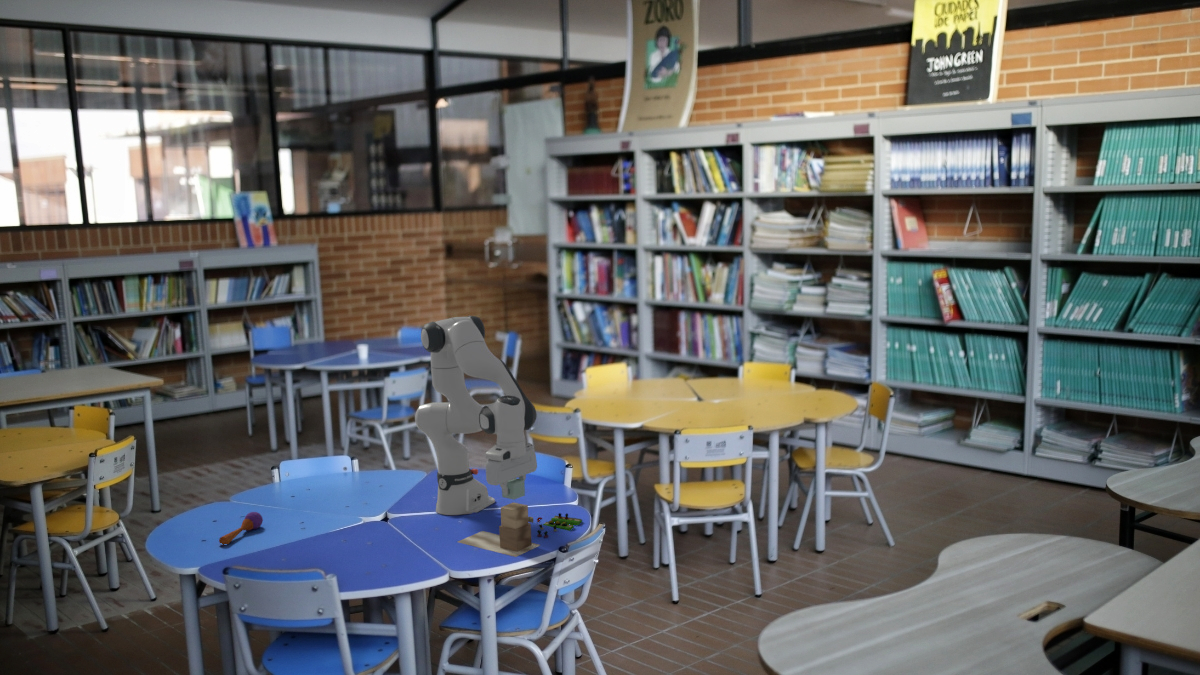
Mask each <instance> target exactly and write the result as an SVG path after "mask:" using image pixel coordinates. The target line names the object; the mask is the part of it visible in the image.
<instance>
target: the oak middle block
mask: <svg viewBox="0 0 1200 675" xmlns="http://www.w3.org/2000/svg"><path fill="white" fill-rule="evenodd" d="M528 517H529V505H528V504H523V503H519V502H511V503H508V504H505V505H503V506H501V507H500V520H501V521H500V522H501V523H500V524H501V525H500V526H504V527H508V528H512V529H518V528H520V527H522V526H525V525H527V524H529V523H530V522H528Z"/></svg>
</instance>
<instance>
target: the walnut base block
mask: <svg viewBox="0 0 1200 675" xmlns="http://www.w3.org/2000/svg"><path fill="white" fill-rule="evenodd" d="M528 523H529V524H527V525H525V526H522V527H520V528H518V529H512V528H508V527H504V526H501V525H499V526H498V529H499V530H498V532H499V535H500V548H504V549H508V550H512V551H516V552H518V551H520V550H522V549H524V548H526V547H528V546H531V545H532V543H533V542H532V526H531V525H532V524H531V522H528Z"/></svg>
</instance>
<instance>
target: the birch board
mask: <svg viewBox="0 0 1200 675" xmlns="http://www.w3.org/2000/svg"><path fill="white" fill-rule="evenodd" d="M457 543H459V544H463V545H466V546H472V547H475V548H479V549H482V550H486V551H490V552H494V553H498V554H502V555H506V556H510V557H514V558H517V557H518V556H522V555H523V554H525V553H527V552H529V551H532V550H534V549H535V548H538V547H541V544H538V543H534V542H532V545H531V546H528V547H526V548H524V549H522V550H520V551H518V552H516V551H512V550H508V549H504V548H500V534H497V533H492V532H489V531H485V530H484V531H483V530H481V531H479V532H477V533H474V534H473V535H469V536H468V537H465V538H463V539H461V540H458V541H457Z"/></svg>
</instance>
